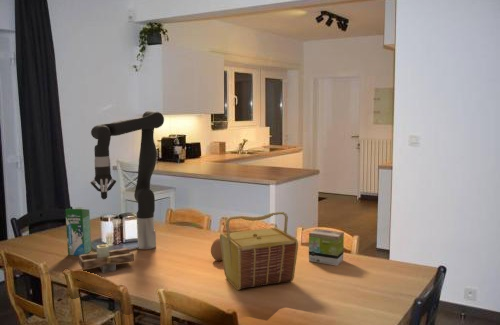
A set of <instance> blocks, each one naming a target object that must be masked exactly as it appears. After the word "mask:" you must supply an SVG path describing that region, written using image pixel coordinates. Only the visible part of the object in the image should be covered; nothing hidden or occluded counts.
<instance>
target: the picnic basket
mask: <svg viewBox="0 0 500 325" xmlns="http://www.w3.org/2000/svg"><path fill="white" fill-rule="evenodd" d="M277 215H283V216H284V225H283V226H284V227H283V230H282V229H280V228H278V227H276V226H275V227H269V228H261V229H260V228H259V229H250V230H244V231H235V232H230V221H232V220H236V219H237V220H238V219H239V220H240V219H242V220H244V221H253V222H254V221H263V220H266V219H270V218H271V217H273V216H277ZM288 219H289V217H288V214H287V213H285V212H284V211H279V212H272V213H268V214H264V215H262V216H261V215H260V216H243V215H239V216H230V217H228V218H227V219H226V221H225V230H226V232H225V233H220V234H219V239H220V243H221V251H222V259H223V260H222V265H223V273H224V276H225V278H226V280H227V281H228V282H229V283H230V284H231V285H232V286H233V287H234V288H235V289H236V290H237V291H240V290H242V289H247V288H254V287H260V286H266V285H272V284H273V285H274V284H280V283H284V282H285V283H286V282H290V283H291V282H293V281H294V279H295V273H296V266H297V258H298V257H297V256H298V251H299V241H298V239H297V238H296V237H295V236H293V235H291V234H289V233H288V222H289V221H288Z"/></svg>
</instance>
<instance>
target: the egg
mask: <svg viewBox="0 0 500 325" xmlns="http://www.w3.org/2000/svg"><path fill="white" fill-rule="evenodd" d="M210 255H211V257H212V259H214V260H215V261H218V262H221V261H223V259H222V251H221V243H220V238H216V239H215V240H214V241H213V242H212V244H211V246H210Z"/></svg>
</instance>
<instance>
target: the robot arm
mask: <svg viewBox="0 0 500 325" xmlns="http://www.w3.org/2000/svg"><path fill="white" fill-rule="evenodd" d="M164 122H165V117H164V115H163V113H161V112H159V111H154V110H147V111H144V113H143V114H142V116H141V117H138V118H128V119H123V120H118V121H113V122H111V123H104V124H103V123H102V124H97V125H94V126H93V127H92V128H91V130H90V134H91V136H92V138H93V139H95V140H97V142H96V145H94V151H93V152H94V179H93V180H91V181H90V183H89V184H91V186H92V187H93V188H95V190H96V191H97V192H100V197H101V198H100V199H102V200H107V198H108V192H109V191H111V190H112V189H113V187H114V186H115V184H116V183H117V180H116V179H114V178H113V176H112V175H111V174H112V173H111V172H112V171H111V158H110V144H111V139H112V138H111V137H114V136H121V135H125V134H129V133H133V132H137V131H141V137H140V149H139V156H138V169H137V180H136V184H135V189H134V196H133V197H134V199H135V201H136V203H137V206H138V207H137V211H136V229H137V230H136V232H137V233H136V234H137V247H138V246H139V248H138V250H151V249H152V250H153V249H155V248H157V241H156V240H157V239H156V238H157V237H156V236H157V235H156V232H157V231H156V230H155V211H156V210H155V209H156V207H155V206H156V205H155V204H156V203H155V194H154V191H153V190H151V179H152V175H153V174H154V170H155V167H156V166H157V158H158V157H157V156H158V153H157V152H158V151H157V147H156V143H155V140H154V134H155V132H154V131H155V129H159V128H161V127H162V126H163V125H164ZM109 183H110V184H109ZM96 184H97V185H98V186H99V187H98V186H97V185H96Z"/></svg>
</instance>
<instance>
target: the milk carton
mask: <svg viewBox="0 0 500 325" xmlns="http://www.w3.org/2000/svg"><path fill="white" fill-rule="evenodd" d="M64 210H65V225H66V242H67V255H68V256H78V255H83V254H89V253H90V252H91V251H92V237H91V235H92V234H91V218H90V217H91V216H90V209H87V208H86V209H85V208H84V207H83V206H75V207H74V208H65V209H64Z"/></svg>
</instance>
